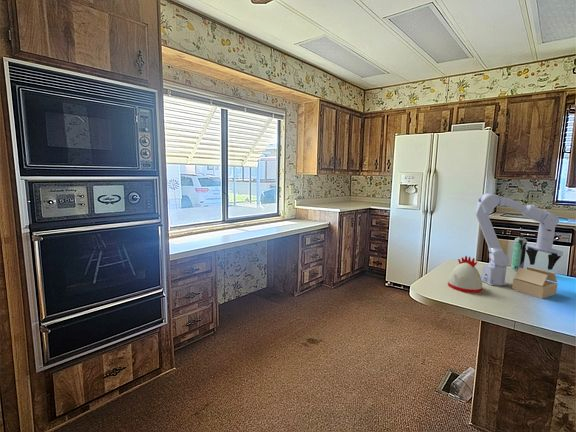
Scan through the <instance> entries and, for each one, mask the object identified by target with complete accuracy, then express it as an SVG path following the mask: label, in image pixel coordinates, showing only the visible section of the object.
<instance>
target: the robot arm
mask: <svg viewBox="0 0 576 432" xmlns="http://www.w3.org/2000/svg"><path fill="white" fill-rule="evenodd" d="M497 206H499V207H503V206H506V207H508V208H511V209H513V210H516V211H519V212H521V214H522V216H523V217H525V218H528V219H530V220H533V221H535V222H537V223H539V226H538V230H537V231H538V233H537V238H536V244H530V243H527V244H526V254H527V256H528V259H529V265H531V266H533V265H535V263H536V259H537V255H538V252H543V253H546V254H547V258H548V262H547V263H548V264H547V271H549V270H553V268H554V267H555V265H556V263H557V262H558V261H559V260H560V259H561V257H562V256H564V251H561V250H558V249H555V248H553V243H554V238H555V230H556V226H557V225H558V224H559V223H560V219H559V216H557V214H555V213H552V212H549V211H548V210H547V209H542V208H539V207H538V206H537V205H535V204H527V205H524V204H521V203H520V202H517V201H516V200H513V199H511V198H508V197H505V196H501V195H497V194H495V193H490V192H485V193H483V194H482V195H480V197H479V198H478V200H477V205H476V209H475V212H474V214H475V217H476V219H477V222H478V224H479V227H480V229H481V231H482V234H483V238H484V240H485V242H486V244H487V249H488V252H489V253H488V258H489V260H490V261H489V262H488V264H485V265H484V266H482V270H481V275H480V277H481V281H482V283H483V282H484V283H486V284H488V285H490V286H509V285H510V283H508V282H505V281H506V275H507V273H506V272H507V267H508V264H509V263H510V258H509V256H508V255H507V254H506V253H505V251H504V250H503V248H502V246H501V244H500V241H499V239H498V237H497V234H496V231H495V229H494V227H493V223H492V222H491V220H490V216H489V215H490V214H491V212H492V210H493V209H495V208H497Z"/></svg>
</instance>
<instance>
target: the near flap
mask: <svg viewBox="0 0 576 432" xmlns="http://www.w3.org/2000/svg"><path fill="white" fill-rule="evenodd" d="M547 276H548V275H546V274H542V273H538V272H535V271H531V270H527V268H524V267H523V268H519V269H518V271H516V273H515V275H514V277H513V279H514V278H516V279H519V280H523V281H526V282H529V283H533V284H536V285H540V286H543V284H544V282H545V280H546V278H547Z"/></svg>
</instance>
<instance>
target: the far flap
mask: <svg viewBox="0 0 576 432" xmlns="http://www.w3.org/2000/svg"><path fill="white" fill-rule="evenodd" d="M526 269H527V270H531V271H535V272H538V273H542V274H546V275H548V276H547V278H546V280H547V281H550V282H554V283H558V280H557V276H556V273H555V272H552V271H549V270H545V269H540V268H536V267H534V266H533V267H532V266H529V265H526Z"/></svg>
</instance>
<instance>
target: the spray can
mask: <svg viewBox="0 0 576 432" xmlns="http://www.w3.org/2000/svg"><path fill="white" fill-rule="evenodd" d="M513 243H514V244H513V248H512V249H513V250H512V257H511V258H512V259H511V265H510V270H511V271H514V272H517V271H518V269H519V268H523V269H524V267H525V265H524V264H525V258H526V254H527V252H526V250H527V248H526V244H528V239H526V238H525V237H524V234H520V235H519V236H517V237H515V238H514V242H513Z"/></svg>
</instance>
